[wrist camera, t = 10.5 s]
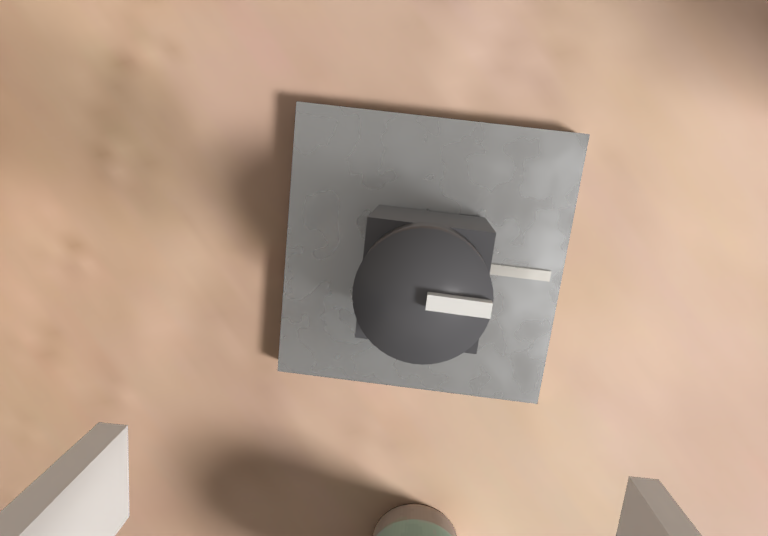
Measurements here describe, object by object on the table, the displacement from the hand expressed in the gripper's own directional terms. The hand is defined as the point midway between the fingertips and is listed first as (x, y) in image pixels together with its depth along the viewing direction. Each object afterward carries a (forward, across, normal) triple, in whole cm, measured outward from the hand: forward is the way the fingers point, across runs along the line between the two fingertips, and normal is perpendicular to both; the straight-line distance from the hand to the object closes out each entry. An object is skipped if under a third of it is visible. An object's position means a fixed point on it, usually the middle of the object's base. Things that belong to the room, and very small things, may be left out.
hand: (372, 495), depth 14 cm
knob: (+18, +2, +3) cm, 18 cm away
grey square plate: (+19, +2, +3) cm, 20 cm away
